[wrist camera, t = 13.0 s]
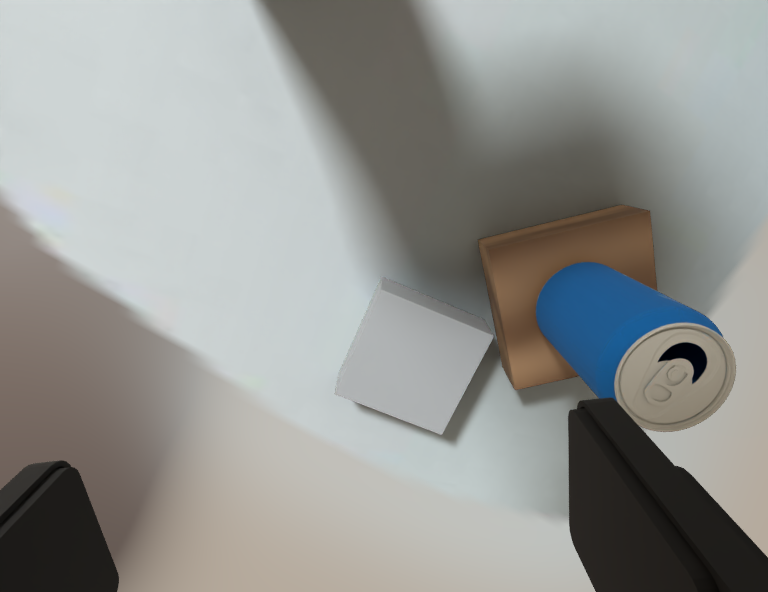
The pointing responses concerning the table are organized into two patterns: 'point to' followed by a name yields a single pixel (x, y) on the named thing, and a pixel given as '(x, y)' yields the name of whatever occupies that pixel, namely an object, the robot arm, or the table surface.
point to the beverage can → (637, 346)
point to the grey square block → (412, 356)
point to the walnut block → (540, 262)
